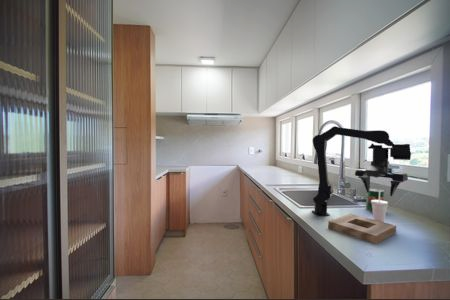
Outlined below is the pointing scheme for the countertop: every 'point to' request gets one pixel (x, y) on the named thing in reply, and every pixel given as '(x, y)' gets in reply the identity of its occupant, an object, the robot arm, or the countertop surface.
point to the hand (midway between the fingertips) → (379, 194)
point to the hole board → (362, 228)
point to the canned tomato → (373, 197)
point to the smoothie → (379, 209)
